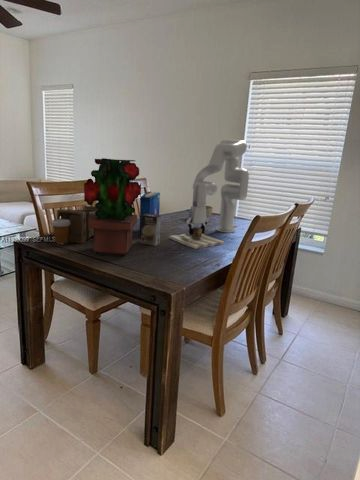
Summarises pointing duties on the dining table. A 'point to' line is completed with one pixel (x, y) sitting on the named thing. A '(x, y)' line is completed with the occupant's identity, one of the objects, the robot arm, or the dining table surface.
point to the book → (149, 205)
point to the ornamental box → (78, 223)
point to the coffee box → (150, 229)
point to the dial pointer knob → (196, 233)
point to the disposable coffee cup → (61, 230)
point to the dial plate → (196, 241)
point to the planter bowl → (208, 211)
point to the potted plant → (113, 205)
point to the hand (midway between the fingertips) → (196, 233)
